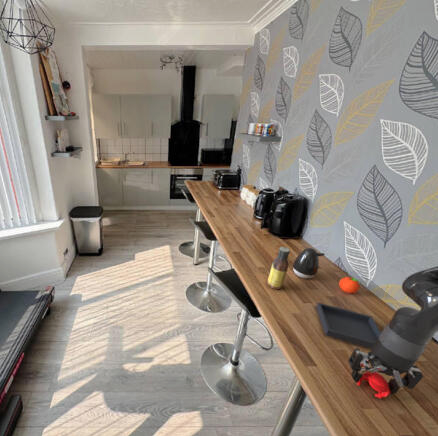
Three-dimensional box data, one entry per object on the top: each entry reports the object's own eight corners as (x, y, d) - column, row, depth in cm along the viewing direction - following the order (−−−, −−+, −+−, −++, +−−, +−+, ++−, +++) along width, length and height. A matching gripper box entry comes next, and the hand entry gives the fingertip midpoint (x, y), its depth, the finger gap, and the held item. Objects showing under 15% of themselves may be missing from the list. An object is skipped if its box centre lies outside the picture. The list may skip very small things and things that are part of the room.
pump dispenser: (315, 284, 110) (326, 257, 104) (290, 276, 115) (299, 250, 109) (314, 273, 118) (324, 247, 112) (291, 266, 123) (299, 241, 117)
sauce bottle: (273, 280, 112) (285, 244, 104) (284, 288, 107) (297, 251, 99) (263, 283, 110) (274, 246, 102) (274, 291, 104) (286, 253, 96)
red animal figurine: (351, 371, 72) (359, 359, 70) (376, 380, 70) (385, 367, 68) (361, 398, 65) (370, 384, 63) (388, 408, 63) (398, 394, 61)
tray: (368, 321, 91) (371, 316, 90) (387, 353, 78) (391, 348, 77) (316, 307, 97) (318, 302, 96) (325, 335, 84) (328, 330, 83)
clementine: (351, 287, 109) (357, 274, 106) (362, 297, 103) (369, 284, 100) (333, 285, 110) (338, 273, 107) (343, 295, 104) (349, 282, 101)
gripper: (370, 347, 59) (345, 387, 66) (446, 369, 55) (411, 410, 61) (358, 324, 66) (337, 363, 73) (426, 343, 61) (396, 382, 68)
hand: (371, 384), depth 67 cm, fingers open, 7 cm apart
